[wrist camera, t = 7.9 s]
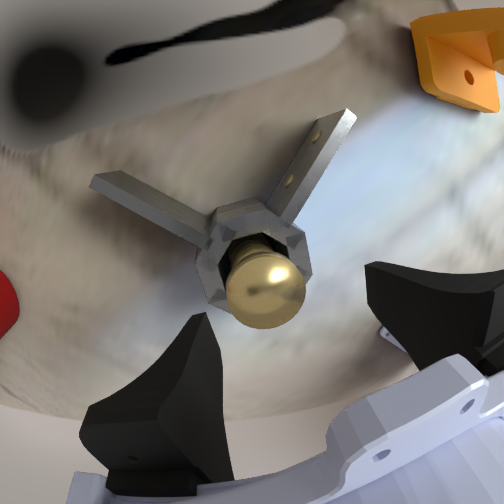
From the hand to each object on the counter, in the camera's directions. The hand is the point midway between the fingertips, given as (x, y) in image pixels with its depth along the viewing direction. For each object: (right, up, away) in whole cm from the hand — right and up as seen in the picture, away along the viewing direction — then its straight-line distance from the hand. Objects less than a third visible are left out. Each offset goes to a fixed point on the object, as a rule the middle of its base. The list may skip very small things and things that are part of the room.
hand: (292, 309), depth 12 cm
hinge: (-3, +8, +8) cm, 12 cm away
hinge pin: (-2, +3, +10) cm, 10 cm away
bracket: (+18, +20, +7) cm, 28 cm away
